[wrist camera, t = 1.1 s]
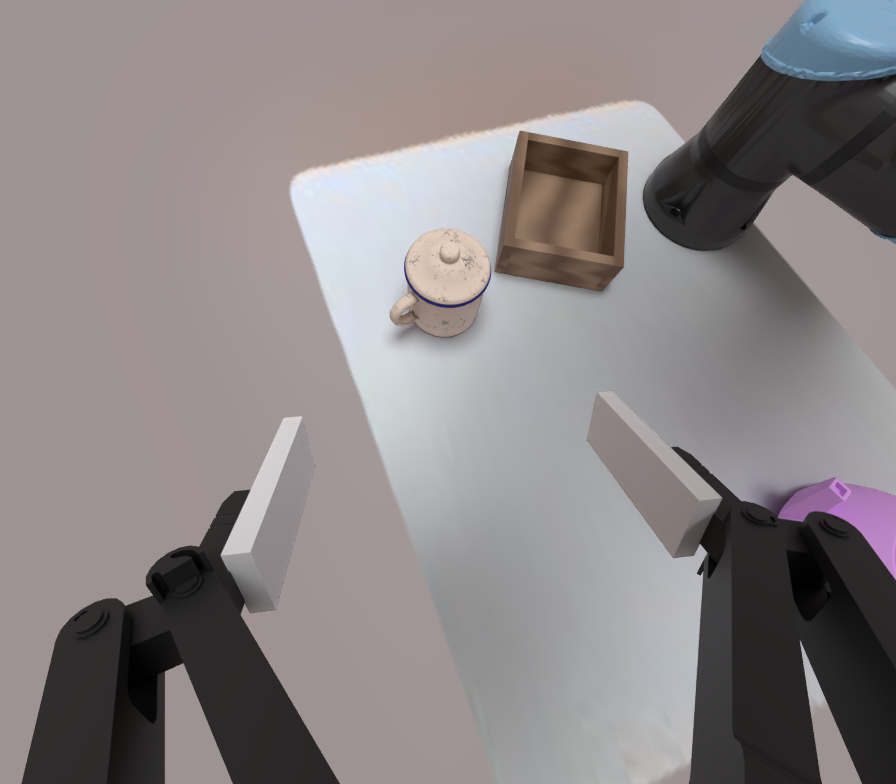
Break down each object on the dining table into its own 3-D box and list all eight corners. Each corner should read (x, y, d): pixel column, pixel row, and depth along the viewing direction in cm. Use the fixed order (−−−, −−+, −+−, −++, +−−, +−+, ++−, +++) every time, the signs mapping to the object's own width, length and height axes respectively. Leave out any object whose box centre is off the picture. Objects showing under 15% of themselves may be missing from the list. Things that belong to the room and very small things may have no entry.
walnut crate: (607, 185, 53) (628, 151, 48) (601, 291, 49) (623, 267, 44) (509, 166, 53) (519, 130, 48) (494, 271, 48) (503, 244, 43)
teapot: (936, 571, 43) (1130, 603, 31) (878, 687, 39) (1071, 771, 27) (779, 437, 46) (902, 419, 34) (711, 533, 42) (822, 550, 30)
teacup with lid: (450, 262, 48) (458, 193, 37) (493, 314, 47) (516, 259, 36) (373, 310, 46) (357, 252, 35) (416, 366, 44) (415, 325, 33)
